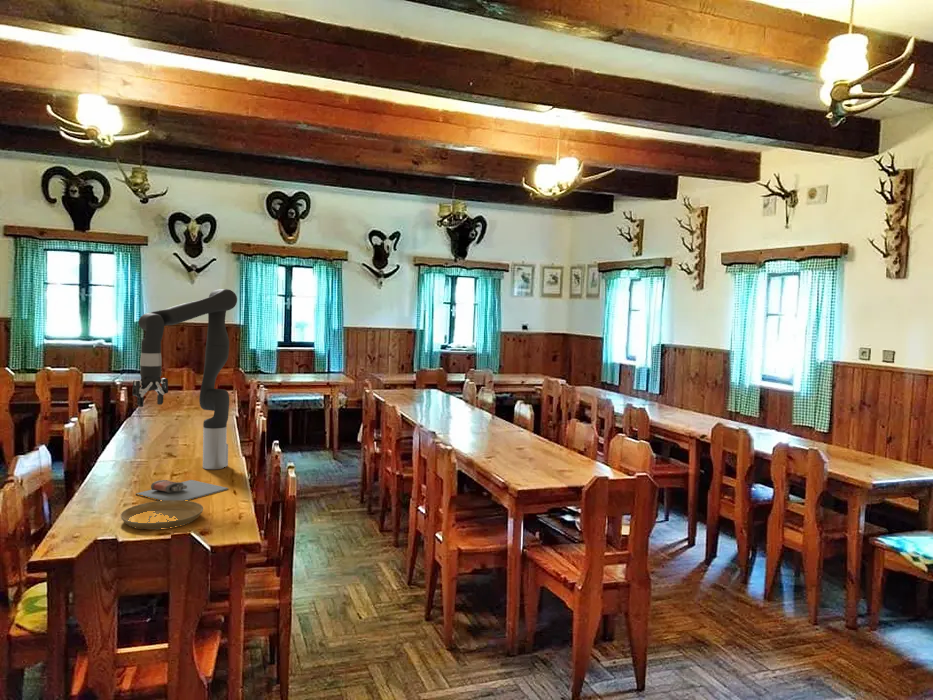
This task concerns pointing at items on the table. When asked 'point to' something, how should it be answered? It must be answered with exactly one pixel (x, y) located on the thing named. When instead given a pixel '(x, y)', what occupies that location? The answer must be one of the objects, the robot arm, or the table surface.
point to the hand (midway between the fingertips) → (150, 405)
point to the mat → (185, 491)
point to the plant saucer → (164, 513)
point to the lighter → (168, 486)
